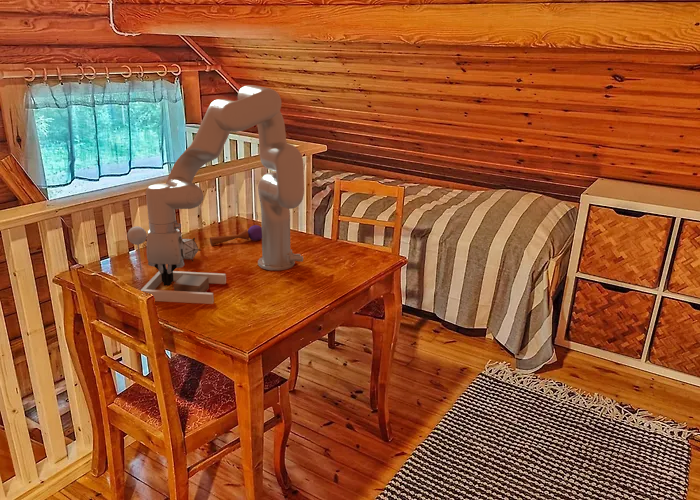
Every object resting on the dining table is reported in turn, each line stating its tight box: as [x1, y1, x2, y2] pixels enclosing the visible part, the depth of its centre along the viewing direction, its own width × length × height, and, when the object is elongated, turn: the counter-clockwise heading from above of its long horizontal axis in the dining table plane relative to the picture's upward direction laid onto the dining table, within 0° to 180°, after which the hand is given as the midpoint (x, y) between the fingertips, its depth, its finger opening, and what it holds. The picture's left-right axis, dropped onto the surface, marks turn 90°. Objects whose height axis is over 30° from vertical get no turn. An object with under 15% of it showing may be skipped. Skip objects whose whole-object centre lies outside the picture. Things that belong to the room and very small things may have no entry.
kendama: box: [209, 224, 262, 247], centre depth 214 cm, size 6×6×20 cm
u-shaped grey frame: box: [140, 270, 227, 305], centre depth 172 cm, size 21×15×3 cm
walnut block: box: [173, 275, 210, 292], centre depth 172 cm, size 8×7×4 cm
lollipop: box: [126, 225, 148, 271], centre depth 184 cm, size 6×6×15 cm
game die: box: [182, 237, 201, 262], centre depth 195 cm, size 9×8×10 cm
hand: (168, 283), depth 172 cm, fingers closed
